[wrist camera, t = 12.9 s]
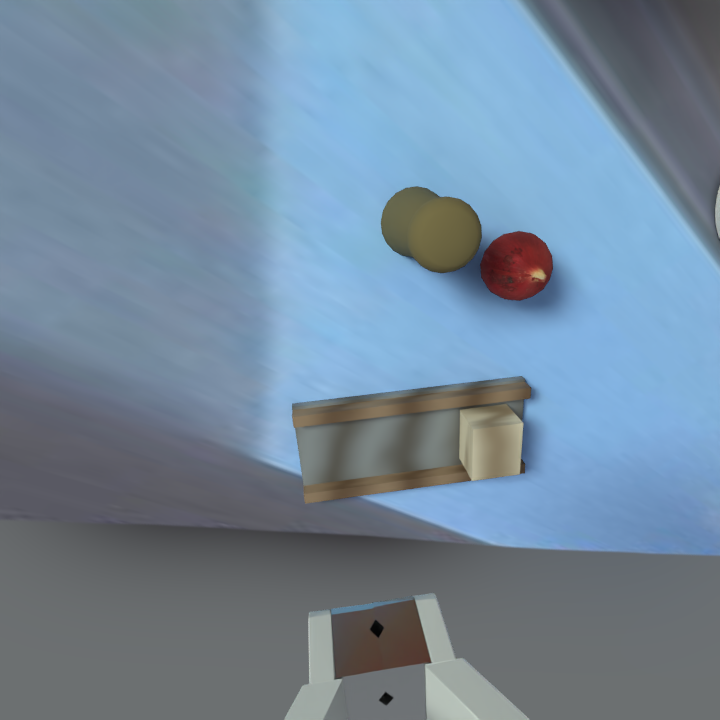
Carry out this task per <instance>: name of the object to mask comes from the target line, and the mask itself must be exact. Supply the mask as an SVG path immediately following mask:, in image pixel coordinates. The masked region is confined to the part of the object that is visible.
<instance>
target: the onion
mask: <svg viewBox="0 0 720 720" xmlns="http://www.w3.org/2000/svg"><path fill="white" fill-rule="evenodd" d="M480 267H481V278H482V279H483V281H484V282H485V284H486V286H487V287H488V289H489V290H490V292H492V293H494V294H496V295H498V296H499V297H501V298H503V299H508V300H523V299H526V298H530V297H532V296H534V295H536V294H537V293H538V292H540V291H542V290H543V289H544V287H545V286H546V284H547V283H548V281H549V280H550V276H551V273H552V269H553V262H552V255H551V253H550V251H549V249H548V247H547V245H546V243H545V242H543V241H542V240H541V239H540V238H538V237H537V236H536V235H534V234H532V233H527V232H521V231H518V232H513V233H508V234H504V235H502V236H500V237H499V238H497V239H495V240H494V241H493V242H492V243H491V244H490V246H489V247H488V248H487V249H486V251H485V252H484V255H483V258H482V261H481V264H480Z"/></svg>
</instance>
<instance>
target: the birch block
mask: <svg viewBox="0 0 720 720" xmlns="http://www.w3.org/2000/svg"><path fill="white" fill-rule="evenodd" d="M522 435H523V422H522V421H521V420H520V419H519V418H518V416H517V415H516V414H515V413H514V412H513V411H512V410H511V409H510V407H509V406H508V405H507V404H502V405H494V406H486V407H478V408H470V409H462V410H460V447H459V459H460V460H461V462H462V464H463V466H464V468H465V469H466V471H467V473H468V475H469V477H470V478H471V480H472V481H475V480H482V479H489V478H497V477H504V476H511V475H518V474H520V463H521V449H522Z"/></svg>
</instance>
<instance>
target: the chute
mask: <svg viewBox="0 0 720 720" xmlns="http://www.w3.org/2000/svg"><path fill="white" fill-rule="evenodd" d="M530 396H531V387H530V386H529V385H528V384H527V383H525V379H524V378H523V377H522V376H519V377H511V378H503V379H494V380H486V381H478V382H470V383H461V384H453V385H445V386H436V387H428V388H420V389H411V390H403V391H395V392H386V393H378V394H370V395H362V396H353V397H345V398H337V399H328V400H320V401H312V402H303V403H295V404H292V410H293V413H292V418H293V425H294V428H295V430H296V437H297V443H298V450H299V457H300V464H301V471H302V477H303V484H304V499H305V503H312V502H319V501H326V500H334V499H341V498H348V497H355V496H363V495H370V494H377V493H384V492H392V491H399V490H406V489H413V488H421V487H428V486H435V485H442V484H449V483H457V482H464V481H471V478H470V477H469V475H468V473H467V471H466V469H465V468H464V466H463V464H462V462H461V460H460V459H459V447H460V410H462V409H470V408H478V407H486V406H494V405H502V404H507V405H508V406H509V407H510V409H511V410H512V411H513V412H514V413H515V414H516V415H517V416H518V418H519V419H520V420H521V421H522V416H523V402H524V399H529V398H530ZM522 473H525V463H524V462H523V460H522V459H521V463H520V474H522Z"/></svg>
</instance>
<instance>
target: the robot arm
mask: <svg viewBox="0 0 720 720" xmlns="http://www.w3.org/2000/svg"><path fill="white" fill-rule="evenodd" d="M715 221H716V228H717V232H718V236H719V238H720V187H719V190H718V195H717V200H716V207H715ZM308 622H309V623H308V628H309V684H306V685H303V686H302V688H301V690H300V691H299V693H298V695H297V697H296V699H295V700H294V702H293V704H292V706H291V708H290V710H289V711H288V714H287V715H286V717H285V719H284V720H530V719H528V717H526V716H525V715H524V714H523V713H522V712H521V711H520V710H519V709H518V708H517V707H516V706H515V705H514V704H512V703H511V702H510V701H509V700H508V699H507V698H506V697H505V696H504V695H503V694H502V693H501V692H499V691H498V690H497V689H496V688H495V687H494V686H493V685H492V684H491V683H490V682H489V681H487V680H486V679H485V678H484V677H483V676H482V675H481V674H480V673H479V672H478V671H477V670H476V669H474V668H473V667H472V666H471V665H470V664H469V663H468V662H467V661H466V660H465V659H464V658H459V659H457V658H456V655H455V652H454V649H453V646H452V643H451V640H450V637H449V634H448V630H447V627H446V625H445V621H444V618H443V615H442V612H441V609H440V606H439V603H438V600H437V597H436V596H435V594H434V593H431V594H424V595H418V596H409V597H403V598H397V599H391V600H386V601H380V602H374V603H372V604H366V605H358V606H351V607H343V608H335V609H328V610H321V611H314V612H309V619H308Z"/></svg>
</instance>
